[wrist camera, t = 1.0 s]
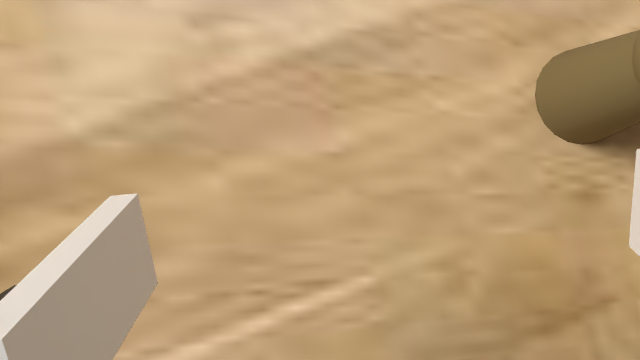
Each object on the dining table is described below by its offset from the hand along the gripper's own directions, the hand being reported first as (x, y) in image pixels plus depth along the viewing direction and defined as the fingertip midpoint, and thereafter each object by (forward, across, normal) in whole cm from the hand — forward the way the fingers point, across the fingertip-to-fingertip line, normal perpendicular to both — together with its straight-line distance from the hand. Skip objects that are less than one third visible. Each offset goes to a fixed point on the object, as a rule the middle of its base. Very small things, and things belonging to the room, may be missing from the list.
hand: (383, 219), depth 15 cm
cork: (+22, -14, +2) cm, 26 cm away
